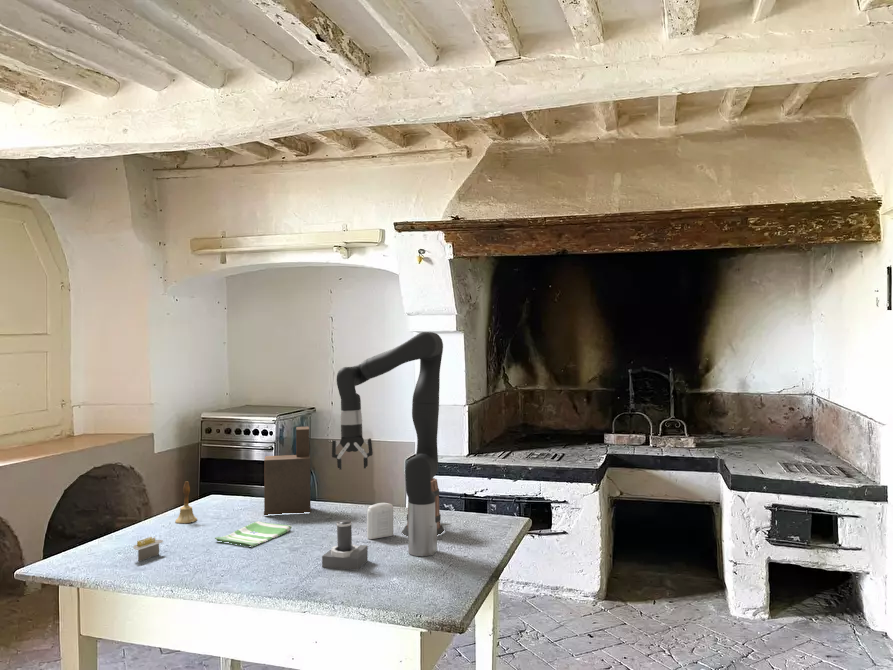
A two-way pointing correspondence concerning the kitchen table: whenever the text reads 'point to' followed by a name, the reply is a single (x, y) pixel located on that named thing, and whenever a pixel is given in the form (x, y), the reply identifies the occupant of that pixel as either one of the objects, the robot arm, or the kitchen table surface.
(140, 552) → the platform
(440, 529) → the tankard
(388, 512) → the photo printer
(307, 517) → the kitchen table surface
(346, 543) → the lens
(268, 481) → the brown box with post
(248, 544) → the dish towel
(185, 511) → the hand bell
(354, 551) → the camera body
